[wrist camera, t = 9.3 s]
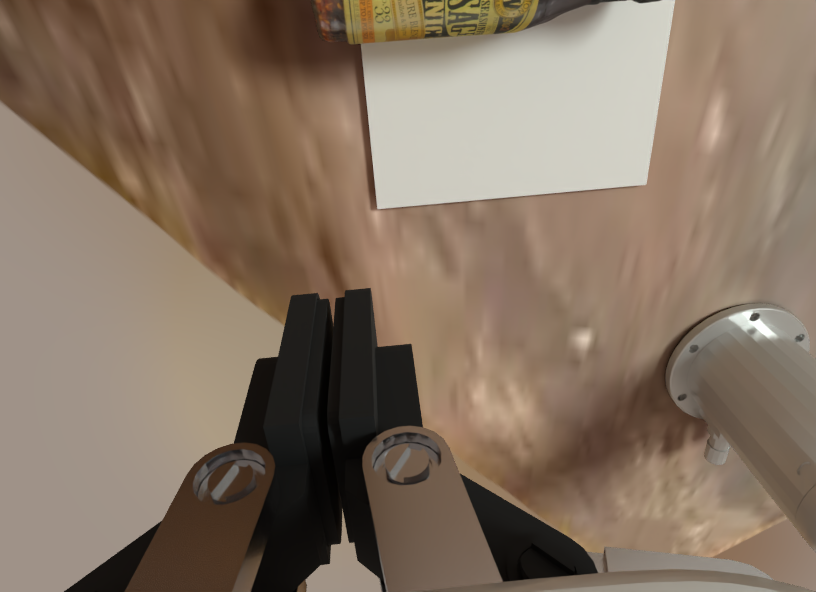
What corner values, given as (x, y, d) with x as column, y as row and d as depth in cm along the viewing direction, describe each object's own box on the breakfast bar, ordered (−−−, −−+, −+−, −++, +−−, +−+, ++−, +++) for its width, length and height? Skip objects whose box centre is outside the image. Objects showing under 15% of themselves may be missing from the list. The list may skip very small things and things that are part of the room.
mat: (643, 182, 42) (646, 184, 41) (377, 206, 41) (377, 209, 41) (682, -73, 34) (686, -74, 33) (351, -48, 33) (351, -48, 32)
